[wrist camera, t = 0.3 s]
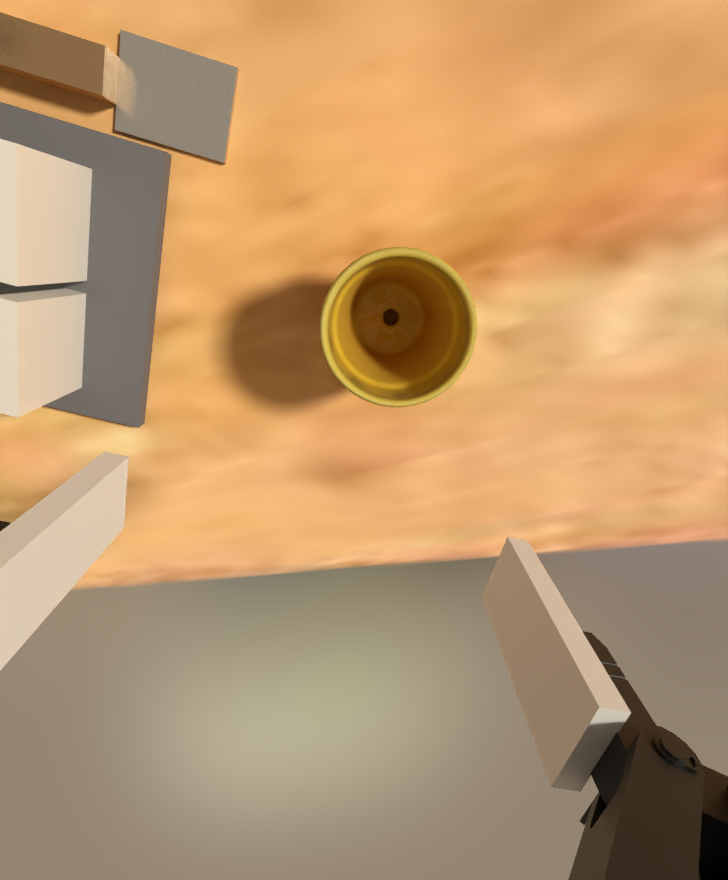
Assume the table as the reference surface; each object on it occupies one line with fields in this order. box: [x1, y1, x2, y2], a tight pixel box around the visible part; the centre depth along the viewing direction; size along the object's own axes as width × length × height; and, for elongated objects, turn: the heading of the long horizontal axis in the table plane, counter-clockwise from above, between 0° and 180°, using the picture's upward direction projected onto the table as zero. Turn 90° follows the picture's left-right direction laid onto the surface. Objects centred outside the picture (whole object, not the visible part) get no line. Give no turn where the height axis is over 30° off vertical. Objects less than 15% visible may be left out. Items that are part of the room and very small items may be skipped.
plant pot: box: [319, 247, 477, 407], centre depth 34 cm, size 10×10×10 cm
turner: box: [0, 12, 239, 164], centre depth 32 cm, size 18×6×2 cm, turn 75°
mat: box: [0, 102, 171, 428], centre depth 37 cm, size 22×18×1 cm
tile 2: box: [0, 288, 86, 417], centre depth 34 cm, size 8×2×8 cm, turn 165°
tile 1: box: [0, 139, 92, 286], centre depth 31 cm, size 8×2×8 cm, turn 165°
